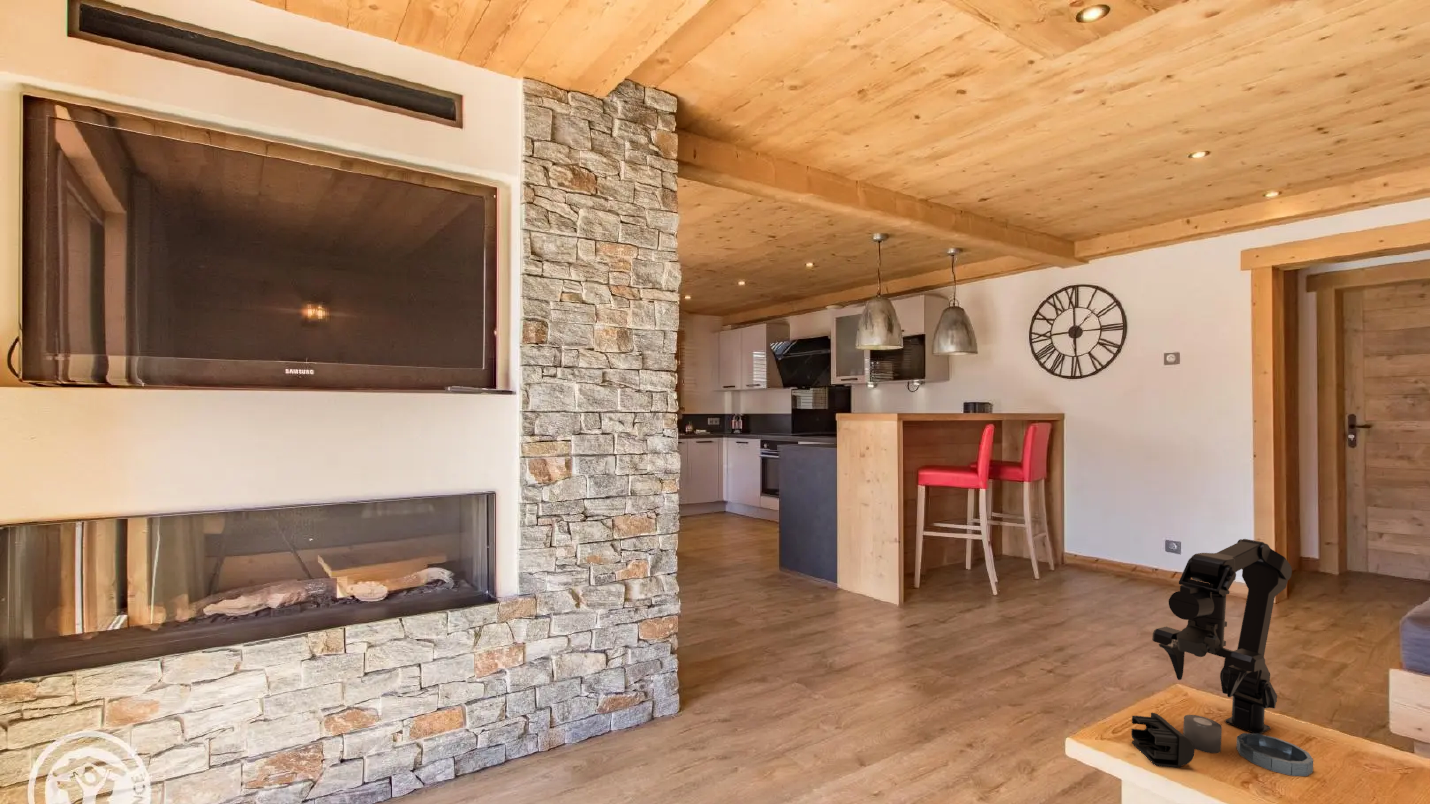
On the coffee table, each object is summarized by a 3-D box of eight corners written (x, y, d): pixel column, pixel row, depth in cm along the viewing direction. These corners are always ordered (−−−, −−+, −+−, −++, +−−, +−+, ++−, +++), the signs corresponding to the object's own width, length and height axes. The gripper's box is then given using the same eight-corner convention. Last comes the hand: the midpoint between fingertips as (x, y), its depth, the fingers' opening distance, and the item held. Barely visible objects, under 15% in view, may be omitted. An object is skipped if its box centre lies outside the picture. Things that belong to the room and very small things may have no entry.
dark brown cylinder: (1191, 734, 144) (1192, 711, 144) (1226, 748, 138) (1227, 724, 138) (1177, 741, 140) (1178, 717, 140) (1212, 756, 135) (1213, 731, 135)
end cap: (1194, 771, 129) (1195, 737, 129) (1156, 767, 129) (1157, 733, 129) (1165, 744, 139) (1166, 713, 139) (1129, 741, 139) (1131, 710, 139)
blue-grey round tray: (1251, 739, 142) (1251, 728, 142) (1320, 766, 132) (1321, 754, 132) (1227, 752, 136) (1227, 741, 136) (1298, 781, 126) (1299, 769, 126)
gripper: (1141, 605, 143) (1137, 676, 143) (1244, 633, 127) (1240, 713, 127) (1166, 601, 149) (1162, 669, 149) (1268, 627, 133) (1263, 703, 133)
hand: (1203, 687), depth 139 cm, fingers open, 9 cm apart
